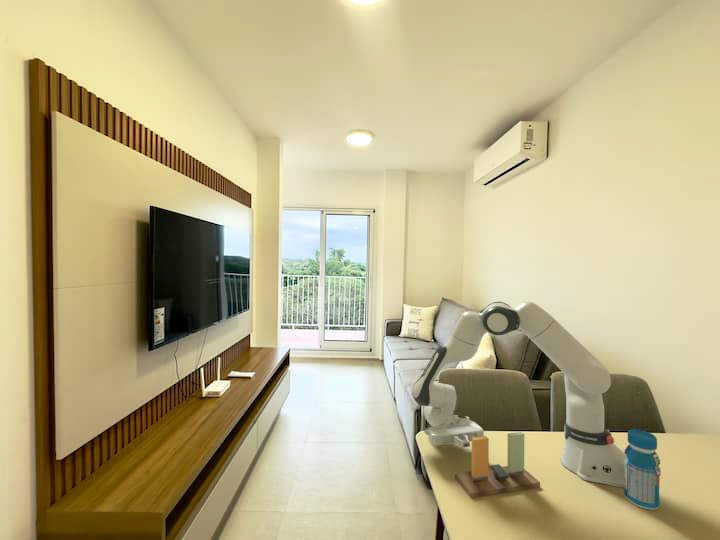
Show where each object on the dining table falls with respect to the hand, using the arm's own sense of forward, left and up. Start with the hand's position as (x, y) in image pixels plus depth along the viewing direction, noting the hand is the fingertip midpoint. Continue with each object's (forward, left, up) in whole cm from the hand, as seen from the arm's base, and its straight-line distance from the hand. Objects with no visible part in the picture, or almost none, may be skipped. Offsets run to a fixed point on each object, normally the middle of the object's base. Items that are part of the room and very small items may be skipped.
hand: (466, 444), depth 117 cm
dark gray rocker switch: (-11, +1, -7) cm, 13 cm away
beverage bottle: (-48, -12, -9) cm, 50 cm away
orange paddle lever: (-6, +6, -6) cm, 11 cm away
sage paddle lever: (-15, -3, -6) cm, 17 cm away
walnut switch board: (-10, +2, -8) cm, 13 cm away
